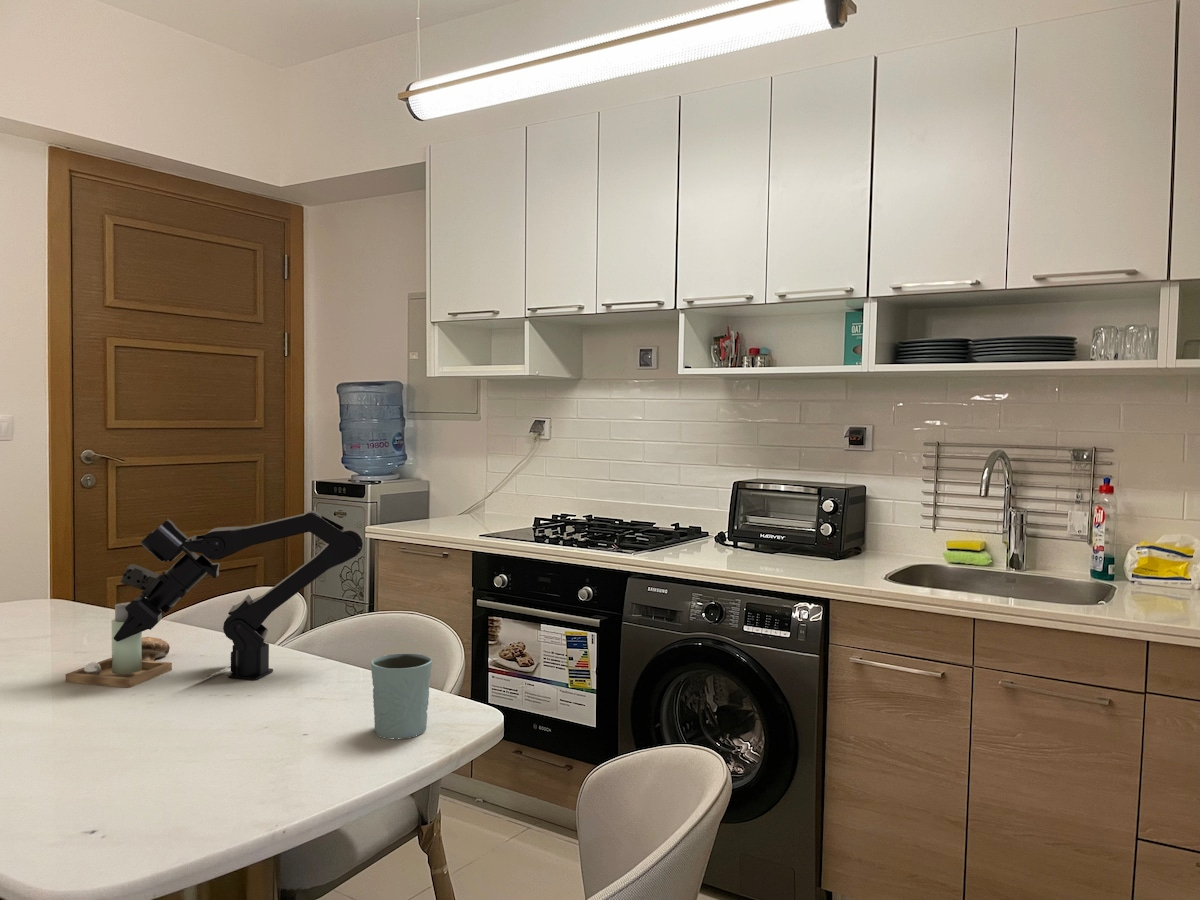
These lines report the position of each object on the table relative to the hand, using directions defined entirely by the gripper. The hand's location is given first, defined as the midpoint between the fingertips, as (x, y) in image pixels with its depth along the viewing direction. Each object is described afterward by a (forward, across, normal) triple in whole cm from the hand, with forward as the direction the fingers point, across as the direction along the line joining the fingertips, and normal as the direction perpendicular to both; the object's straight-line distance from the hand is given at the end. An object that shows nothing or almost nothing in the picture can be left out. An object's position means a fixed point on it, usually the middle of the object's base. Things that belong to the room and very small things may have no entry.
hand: (119, 636), depth 175 cm
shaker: (+4, 0, +6) cm, 7 cm away
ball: (+9, 0, +2) cm, 9 cm away
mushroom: (+5, -13, +8) cm, 16 cm away
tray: (+6, -1, +6) cm, 9 cm away
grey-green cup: (-30, +38, +44) cm, 65 cm away
